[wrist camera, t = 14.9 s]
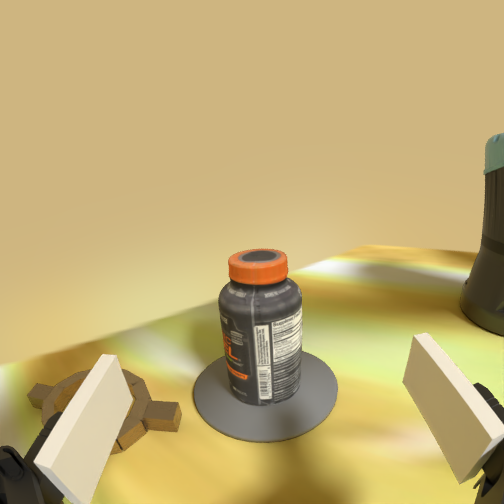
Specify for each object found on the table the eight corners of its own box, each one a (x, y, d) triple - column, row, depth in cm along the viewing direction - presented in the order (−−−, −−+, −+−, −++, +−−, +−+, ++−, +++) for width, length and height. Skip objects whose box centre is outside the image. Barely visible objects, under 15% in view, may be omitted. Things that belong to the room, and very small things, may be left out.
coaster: (322, 345, 29) (322, 341, 29) (352, 432, 18) (353, 428, 18) (204, 352, 30) (204, 348, 29) (184, 442, 18) (182, 438, 18)
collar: (189, 383, 25) (186, 371, 24) (167, 472, 15) (161, 461, 15) (59, 372, 25) (55, 361, 25) (14, 432, 16) (6, 421, 15)
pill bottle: (223, 371, 26) (208, 249, 23) (285, 358, 27) (282, 239, 24) (239, 416, 20) (222, 275, 17) (312, 396, 22) (317, 260, 19)
